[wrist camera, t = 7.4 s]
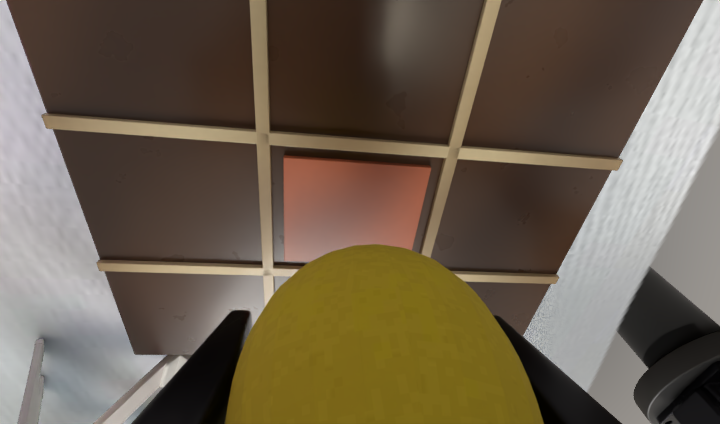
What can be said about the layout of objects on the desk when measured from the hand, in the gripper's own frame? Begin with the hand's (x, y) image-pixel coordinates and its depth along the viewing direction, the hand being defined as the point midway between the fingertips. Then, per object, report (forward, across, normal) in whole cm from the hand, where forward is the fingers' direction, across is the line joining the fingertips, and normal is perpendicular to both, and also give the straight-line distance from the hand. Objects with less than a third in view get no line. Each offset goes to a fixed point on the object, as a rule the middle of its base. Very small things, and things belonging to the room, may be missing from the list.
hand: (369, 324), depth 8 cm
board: (+6, 0, 0) cm, 6 cm away
